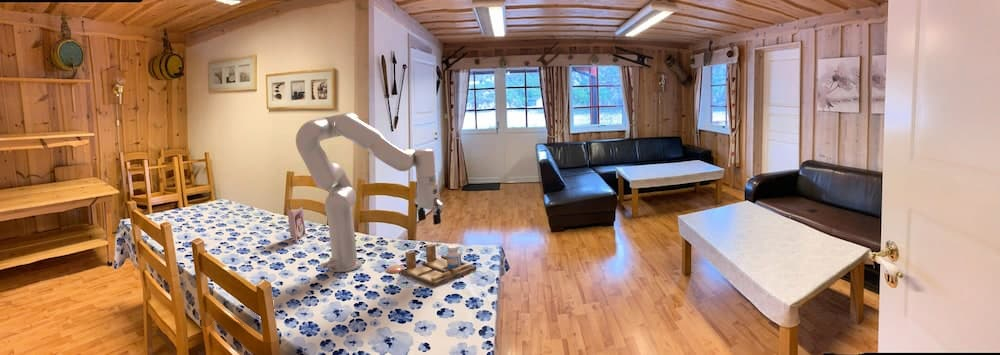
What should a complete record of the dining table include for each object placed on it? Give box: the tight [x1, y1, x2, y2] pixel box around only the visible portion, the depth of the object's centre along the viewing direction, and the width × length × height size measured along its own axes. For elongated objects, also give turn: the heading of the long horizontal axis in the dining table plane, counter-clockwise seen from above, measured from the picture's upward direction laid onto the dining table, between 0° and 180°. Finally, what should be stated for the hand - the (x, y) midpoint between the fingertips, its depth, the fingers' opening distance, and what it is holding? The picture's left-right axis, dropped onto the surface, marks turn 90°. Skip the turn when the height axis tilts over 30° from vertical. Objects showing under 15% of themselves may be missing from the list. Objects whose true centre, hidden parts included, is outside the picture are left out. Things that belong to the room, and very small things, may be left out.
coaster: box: [386, 265, 406, 274], centre depth 193 cm, size 7×7×1 cm
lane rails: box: [400, 255, 477, 288], centre depth 189 cm, size 21×20×2 cm
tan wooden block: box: [404, 249, 433, 276], centre depth 190 cm, size 8×9×7 cm
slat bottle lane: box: [425, 243, 472, 273], centre depth 193 cm, size 8×20×7 cm, turn 46°
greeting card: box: [286, 206, 306, 243], centre depth 235 cm, size 11×7×15 cm, turn 1°
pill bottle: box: [446, 244, 462, 272], centre depth 189 cm, size 6×5×10 cm
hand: (429, 222), depth 197 cm, fingers open, 9 cm apart
